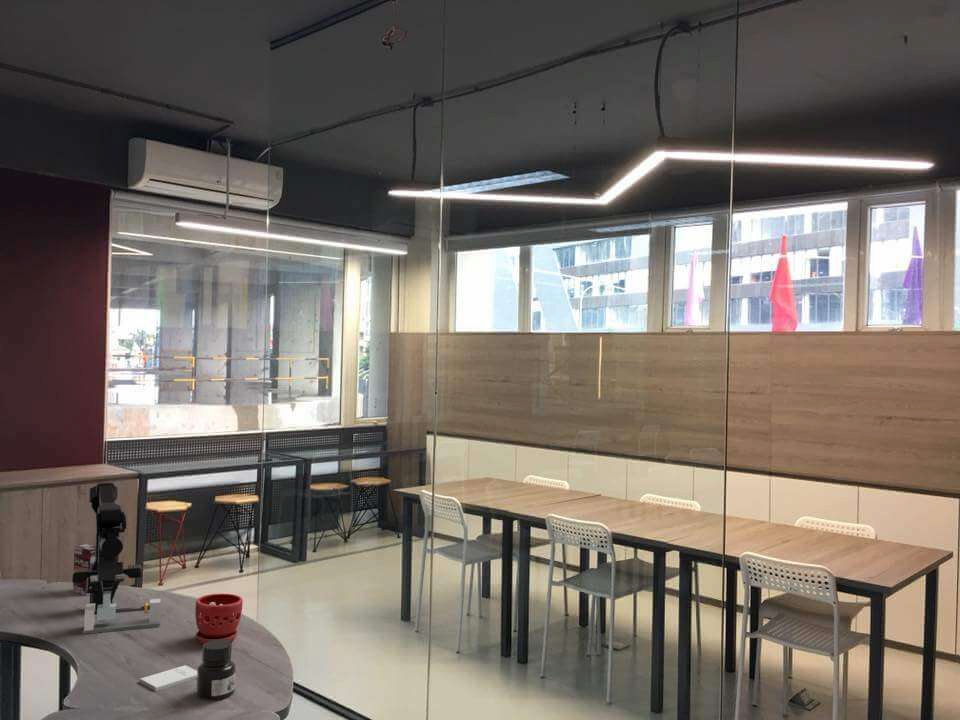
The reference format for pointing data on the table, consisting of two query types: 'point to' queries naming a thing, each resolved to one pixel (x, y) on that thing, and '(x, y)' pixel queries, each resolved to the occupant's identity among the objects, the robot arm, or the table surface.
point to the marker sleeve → (106, 608)
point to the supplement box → (83, 564)
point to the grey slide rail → (128, 624)
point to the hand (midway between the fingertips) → (106, 601)
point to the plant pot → (218, 617)
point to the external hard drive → (169, 678)
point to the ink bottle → (216, 671)
